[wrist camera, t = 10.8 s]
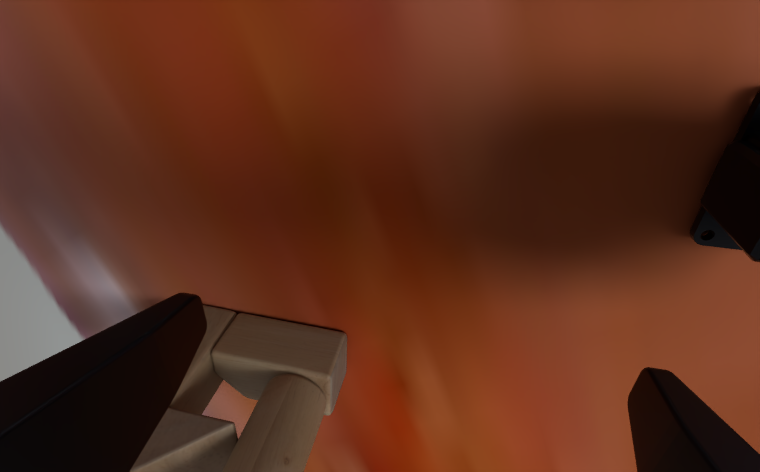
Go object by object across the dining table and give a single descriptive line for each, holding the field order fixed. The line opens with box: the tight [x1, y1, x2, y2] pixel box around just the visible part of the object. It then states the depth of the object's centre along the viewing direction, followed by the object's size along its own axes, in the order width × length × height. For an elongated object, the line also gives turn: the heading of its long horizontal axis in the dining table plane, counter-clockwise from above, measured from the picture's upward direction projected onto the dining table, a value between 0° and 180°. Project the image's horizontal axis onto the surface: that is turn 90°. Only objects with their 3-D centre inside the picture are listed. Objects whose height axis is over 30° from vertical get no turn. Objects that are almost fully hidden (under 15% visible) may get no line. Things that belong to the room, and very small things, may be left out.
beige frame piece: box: [130, 305, 347, 472], centre depth 20 cm, size 4×11×18 cm, turn 87°
